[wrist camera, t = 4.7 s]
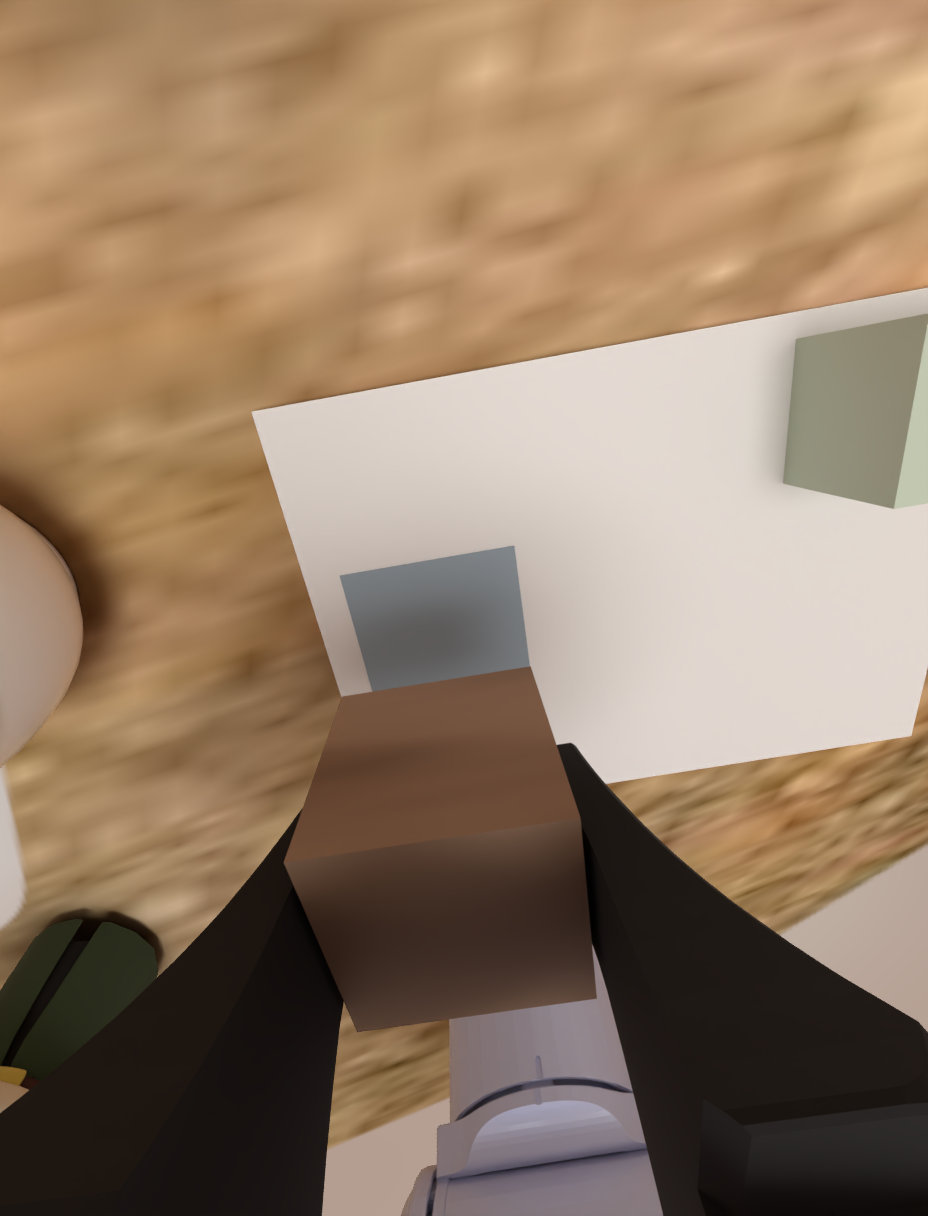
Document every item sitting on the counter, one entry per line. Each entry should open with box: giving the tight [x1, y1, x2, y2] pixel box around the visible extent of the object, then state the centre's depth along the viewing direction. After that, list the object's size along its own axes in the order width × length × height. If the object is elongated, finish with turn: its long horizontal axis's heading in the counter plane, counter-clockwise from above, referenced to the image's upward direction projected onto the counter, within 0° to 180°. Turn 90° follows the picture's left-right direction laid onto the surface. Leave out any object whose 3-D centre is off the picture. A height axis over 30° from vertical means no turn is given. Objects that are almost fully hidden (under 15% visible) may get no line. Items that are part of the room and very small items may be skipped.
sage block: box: [783, 314, 928, 509], centre depth 14 cm, size 4×4×4 cm
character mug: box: [0, 919, 158, 1113], centre depth 20 cm, size 11×7×13 cm, turn 78°
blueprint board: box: [252, 288, 928, 784], centre depth 19 cm, size 18×24×1 cm
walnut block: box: [284, 666, 597, 1032], centre depth 10 cm, size 4×4×4 cm
